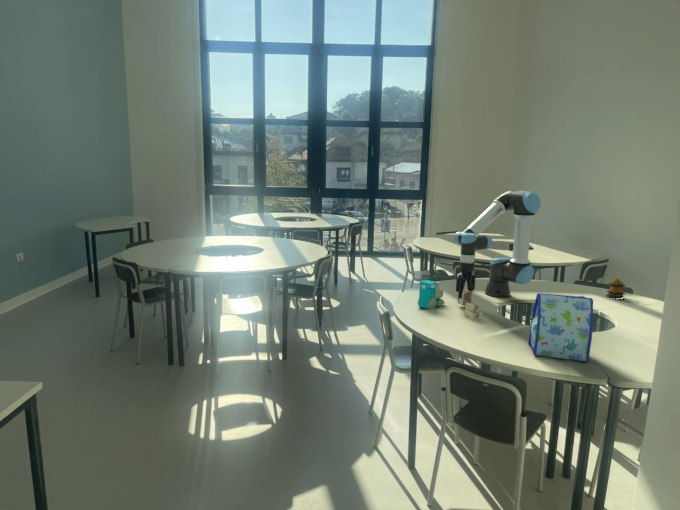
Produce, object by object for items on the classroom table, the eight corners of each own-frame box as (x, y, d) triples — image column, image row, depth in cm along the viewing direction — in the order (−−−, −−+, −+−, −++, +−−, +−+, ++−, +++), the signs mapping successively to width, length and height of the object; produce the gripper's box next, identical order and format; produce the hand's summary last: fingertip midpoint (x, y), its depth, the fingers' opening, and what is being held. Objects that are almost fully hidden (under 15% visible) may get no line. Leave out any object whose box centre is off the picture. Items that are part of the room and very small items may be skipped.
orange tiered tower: (624, 301, 287) (627, 282, 285) (605, 298, 292) (608, 280, 290) (623, 296, 299) (626, 278, 296) (605, 293, 303) (608, 276, 301)
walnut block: (464, 301, 262) (464, 289, 261) (471, 304, 258) (471, 291, 256) (457, 303, 259) (458, 291, 258) (464, 305, 255) (465, 293, 254)
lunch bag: (579, 349, 207) (587, 292, 202) (590, 364, 191) (599, 303, 186) (526, 343, 212) (532, 287, 207) (533, 358, 196) (540, 297, 191)
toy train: (445, 305, 266) (447, 279, 263) (429, 311, 254) (431, 284, 251) (433, 302, 271) (435, 276, 268) (417, 307, 260) (419, 281, 257)
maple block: (471, 314, 246) (472, 302, 244) (478, 317, 242) (480, 304, 240) (464, 316, 243) (465, 303, 242) (472, 319, 239) (473, 305, 238)
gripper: (473, 258, 262) (470, 298, 266) (450, 262, 252) (447, 303, 257) (484, 261, 255) (480, 302, 260) (460, 265, 246) (458, 307, 251)
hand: (464, 302), depth 259 cm, fingers closed on walnut block, 5 cm apart
